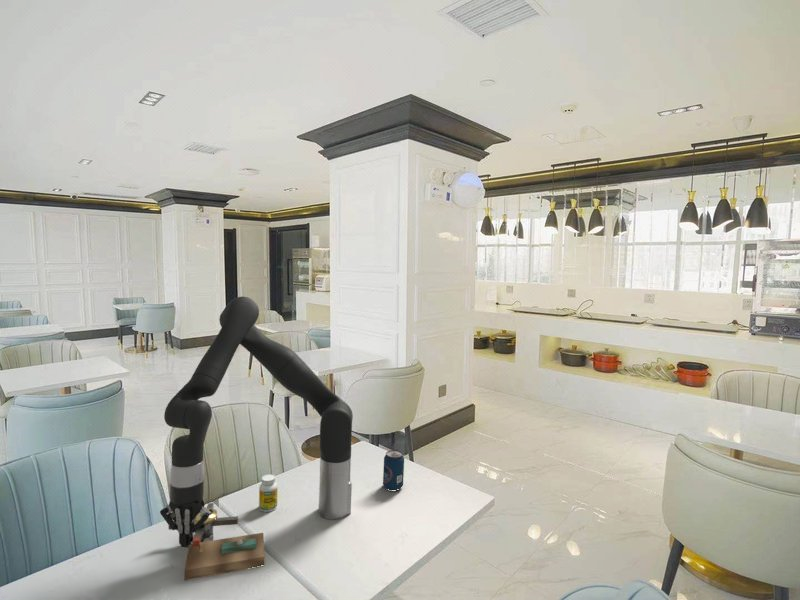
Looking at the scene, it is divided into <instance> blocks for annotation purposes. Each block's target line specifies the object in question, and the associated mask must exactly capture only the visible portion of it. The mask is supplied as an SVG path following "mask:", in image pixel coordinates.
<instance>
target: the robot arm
mask: <svg viewBox="0 0 800 600" xmlns="http://www.w3.org/2000/svg"><path fill="white" fill-rule="evenodd" d="M259 316H260V309H259V306H258V304H257V303H256V301H254V299H252V298H251V297H248V296H238V297H235V298H234V299H232V300H231V301H229V302H228V303H227V305H226V306H225V308H224V309H223V310H222V312H221V313H220V315H219V324H220V326H221V329H220V330H219V332H218V334H217V335H216V337H215V339H214V340H213V342H212V343H211V345H210V346H209V348H208V349H207V351H206V352H205V354H204V355H203V357H202V358H201V360H200V362H199V363H198V365H197V367H196V368H195V370H194V372H193V374H192V375H191V378H190V379H189V380H188V382H187V383H185V384H184V386H182V388H181V389H179V391H178V392H177V393H175V395H174V396H173V397H172V398H171V399H170V400H169V402H168V404H167V405H166V407H165V409H164V415H163V416H164V417H163V418H164V421H165V424H167V426H168V427H170V428H175V429H176V428H177V429H182V430H183V429H184V430H188V431H189V433H188V434H185V435H181V436H178V437H176V438H175V439H174V440H173V442H172V444H171V468H170V473H169V474H170V475H169V476H170V477H169V480H170V481H169V499H170V501H169V502H168V504H166V505H165V506H164V507H163V508H162V509H161V510H160V511H159V514H160V515H161V516H162V518H163V519H164V520H165V522H166V523H167V525H168V527H169V526H170V528H171V529H170V530H171V531H177V532H178V543H179V545H180V548H185V549H186V548H189V545H190V544H193V536H194V533H195V532H196V531H197V530H198V529H199V528H200V526H201V525H202V524H203V523H204V522H205V521H206V520H207V519H208V517H209V516H210V515H211V514H212V513H213V510H212V509H209V510H208V509H207V506H206V505H205V501H204V490H205V489H204V488H205V487H204V485H205V465H204V443H205V440H206V436H207V433H208V429H209V426H210V423H211V420H212V416H213V411H212V408H211V405H210V404H209V402H208V401H206V400H201V399H202V398H208V397H212V396H214V395H215V394H216V392H217V391H218V388H219V387H220V385H221V382H222V381H223V379H224V377H225V374H226V372H227V371H228V368H229V366H230V365H231V362H232V359H233V358H234V356H235V353H236V352H237V349H238V348H239V346H242V347H243V348H244V349H245V350H247V352H249V353H250V354H251V355H252V356H253V357H254V358H255V359H256V361H258V362H259V363H260V364H261V365H262V366H263V367H264V368H265V370H267V371H268V372H269V374H270V375H272V377H273V378H274V379H275V380H276V381H277V382H278V383H279V384H280V385H282V387H283V388H285V389H286V390H287V391H289V392H290V393H292V394H294V395H296V396H298V397H299V398H301V399H302V400H305V401H306V402H307V403H308V404H310V405H311V406H312V408H313V409H314V410H315V411H316V412H317V413H318V415H319V416H320V417H321V419H320V424H319V451H320V452H319V453H320V455H319V456H320V459H319V460H320V461H319V487H318V488H319V489H318V491H319V492H318V515H320V516H321V517H323V518H324V519H328V520H337V519H342V518H344V517H345V516H347V515H350V514H352V512H351V511H352V489H353V484H352V481H351V468H352V467H351V465H352V463H351V460H352V431H353V419H354V418H353V411H352V408H351V407H350V406H349V405H348V403H346V401H344V400H343V399H342V398H340V397H339V396H338V395H337V394H335V392H333V391H332V390H331V389H330V388H328V387H327V386H326V384H324V383H323V381H322V380H321V379H320V378H319V377H318V375H317V374H316V373H315V372H314V371H313V370H312V369H311V368H310V367H309V365H308V364H306V362H305V361H304V360H303V359H302V358H301V357H300V356H299V355H298V354H297V353H296V352H295V351H294V350H293V349H291V348H290V347H287V346H286V345H284V344H281V343H279V342H277V341H275V340H272V339H271V338H268V336H266V335H265V334H264V333H263V332H262V331H261V330H260V329H259V328H258V327H257V326H256V325H255V324H256V322H257V321H258V319H259ZM200 511H201V514H200V518H201V519H200V520H199V521H198V522H197V523H196V524H195V520H196V516H197V515H198V514H199V512H200ZM173 521H174V522H175V523H174V522H173Z"/></svg>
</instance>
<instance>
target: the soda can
mask: <svg viewBox="0 0 800 600" xmlns="http://www.w3.org/2000/svg"><path fill="white" fill-rule="evenodd" d="M404 472H405V457H404V454H403V451H401V450H398V449H392V450H390V449H389V450H387V451H386V452H385V456H383V475H382V484H383V487H384V489H385V488H386V489H389V490H397V489H400V488H401V487H403V486H404V478H405V476H404V475H405V473H404ZM386 489H385V490H386ZM401 489H402V488H401ZM401 489H400V490H401Z"/></svg>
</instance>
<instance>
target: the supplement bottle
mask: <svg viewBox="0 0 800 600" xmlns="http://www.w3.org/2000/svg"><path fill="white" fill-rule="evenodd" d="M278 488H279V486H278V483H277V482H276V476H275V474H266V475H265V474H264V475H263V476H262V477H261V483H260V485H259V486H258V491H259V492H258V494H259V495H258V496H259V497H258V504H259V505H258V508H259V510H260V511H261V512H263V513H265V512H266V513H268V512H273V511H275V510H276V509H277V507H278V490H279V489H278Z"/></svg>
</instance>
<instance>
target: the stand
mask: <svg viewBox="0 0 800 600" xmlns="http://www.w3.org/2000/svg"><path fill="white" fill-rule="evenodd" d="M264 537H265V536H264V532H257V533H252V534H247V535H245V534H244V535H239V536H232V537H227V538H226V537H225V538H219V539H213V540H212V541H206V542H201V543H200V545H199V546H196V547H193V543H191V544H190V545H189V546H188V550H187V556H186V560H185V565H184V571H183V572H184V579H183V580H184V581H187V580H193V579H194V580H195V579H201V578H205V577H210V576H215V575H216V576H217V575H222V574H227V573H228V574H229V573H233V572H239V571H243V570H248V568H251V569H253V568H252V567H256V568H258V567H257V566H261V565H265V564H266V563H265V562H266V561H265V559H266V558H265V557H266V553H265V552H266V551H265V540H264V539H265V538H264Z"/></svg>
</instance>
